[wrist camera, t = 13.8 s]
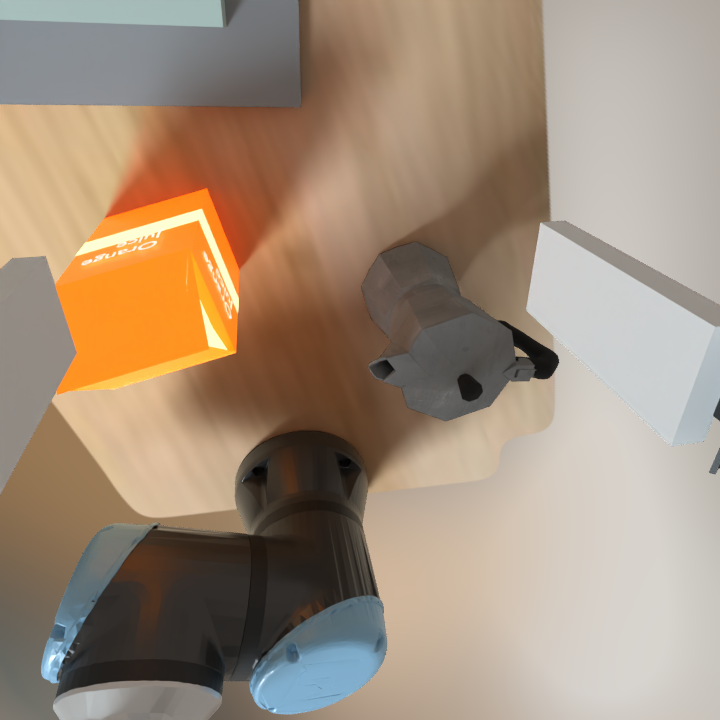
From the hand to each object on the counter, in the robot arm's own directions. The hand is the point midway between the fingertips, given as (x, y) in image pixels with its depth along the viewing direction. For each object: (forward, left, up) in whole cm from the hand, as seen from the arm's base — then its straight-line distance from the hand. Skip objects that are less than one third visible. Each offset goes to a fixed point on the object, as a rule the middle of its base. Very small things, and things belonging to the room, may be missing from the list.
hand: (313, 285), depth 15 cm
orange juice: (-10, +9, -33) cm, 35 cm away
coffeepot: (-15, -13, -33) cm, 38 cm away
